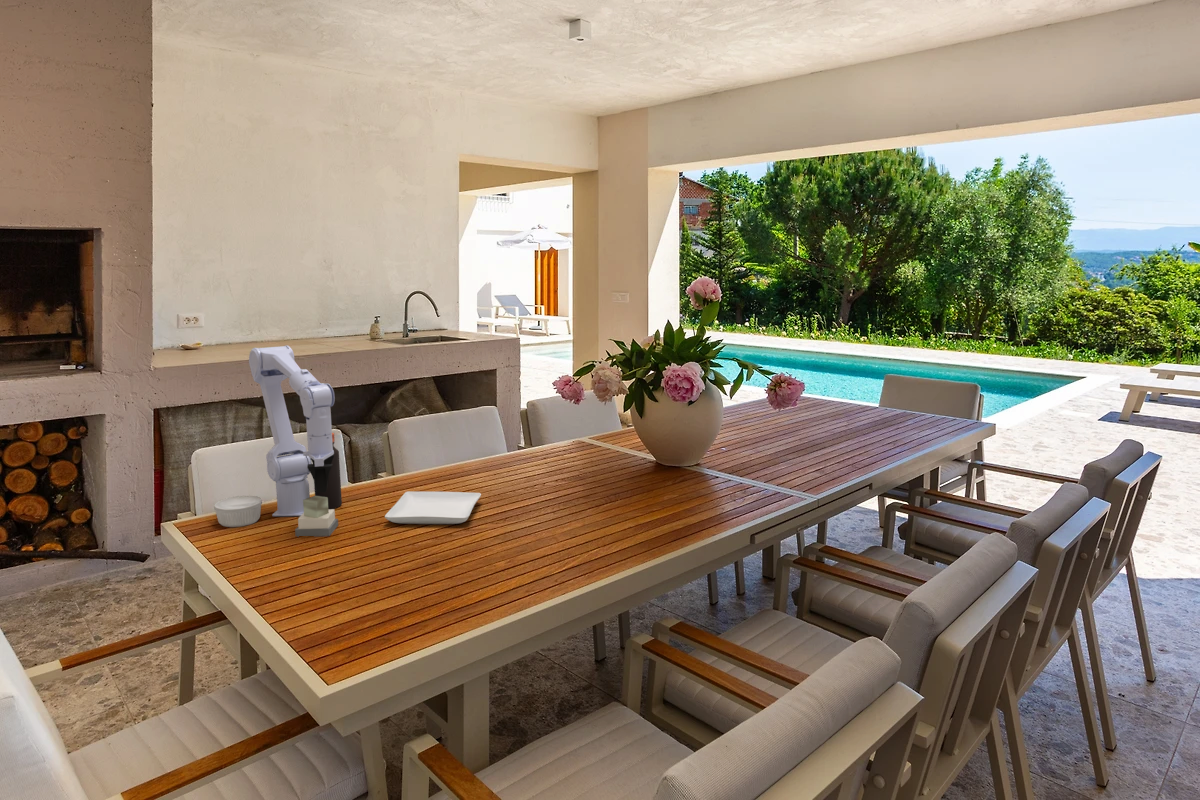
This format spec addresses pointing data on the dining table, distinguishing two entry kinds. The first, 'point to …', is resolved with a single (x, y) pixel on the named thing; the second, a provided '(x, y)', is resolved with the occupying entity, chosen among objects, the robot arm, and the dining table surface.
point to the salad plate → (433, 507)
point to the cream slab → (316, 521)
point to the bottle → (333, 482)
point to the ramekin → (238, 510)
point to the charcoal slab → (317, 530)
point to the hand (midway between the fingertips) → (322, 487)
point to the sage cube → (315, 506)
